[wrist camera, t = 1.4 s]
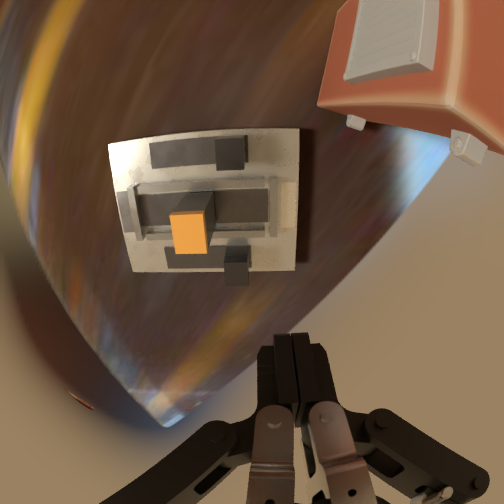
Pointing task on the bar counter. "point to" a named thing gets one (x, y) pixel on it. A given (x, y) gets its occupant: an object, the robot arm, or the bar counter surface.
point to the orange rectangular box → (421, 69)
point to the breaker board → (225, 198)
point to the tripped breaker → (193, 223)
